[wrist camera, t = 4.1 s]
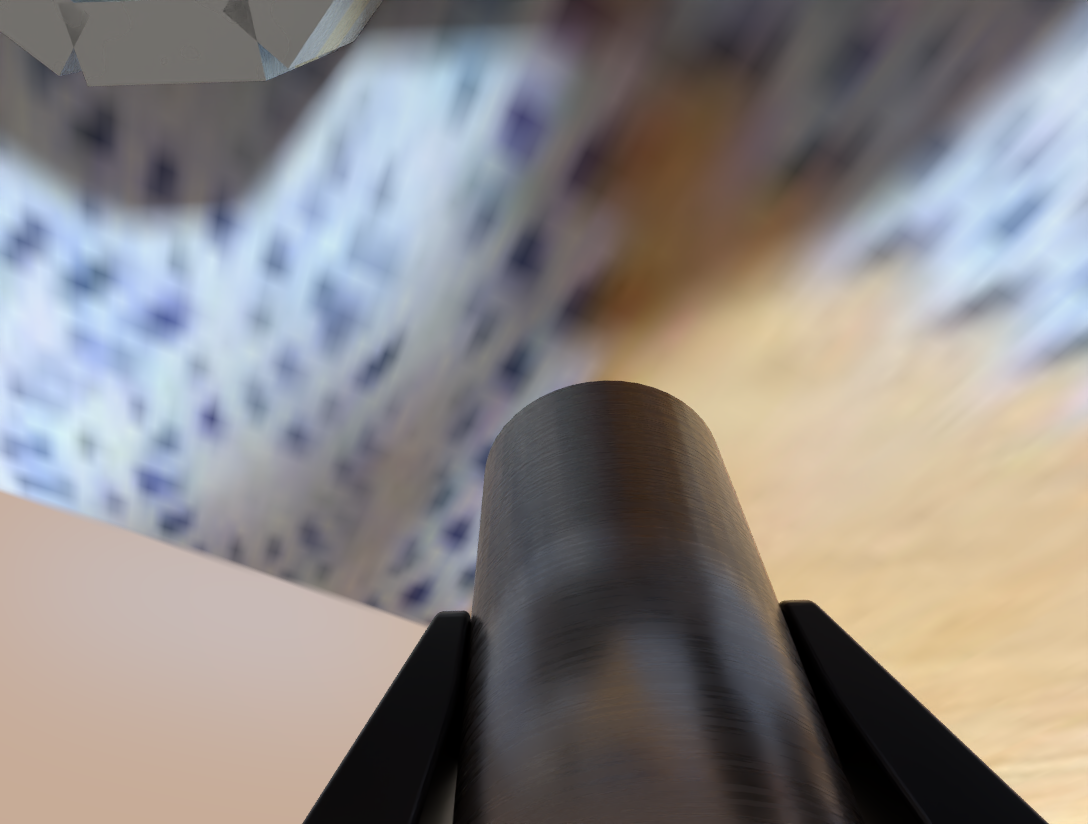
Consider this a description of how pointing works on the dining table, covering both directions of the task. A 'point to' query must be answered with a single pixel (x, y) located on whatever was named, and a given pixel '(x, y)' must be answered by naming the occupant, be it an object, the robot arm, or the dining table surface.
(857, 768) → the robot arm
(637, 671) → the hinge pin
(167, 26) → the hinge
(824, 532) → the dining table surface
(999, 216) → the dining table surface
